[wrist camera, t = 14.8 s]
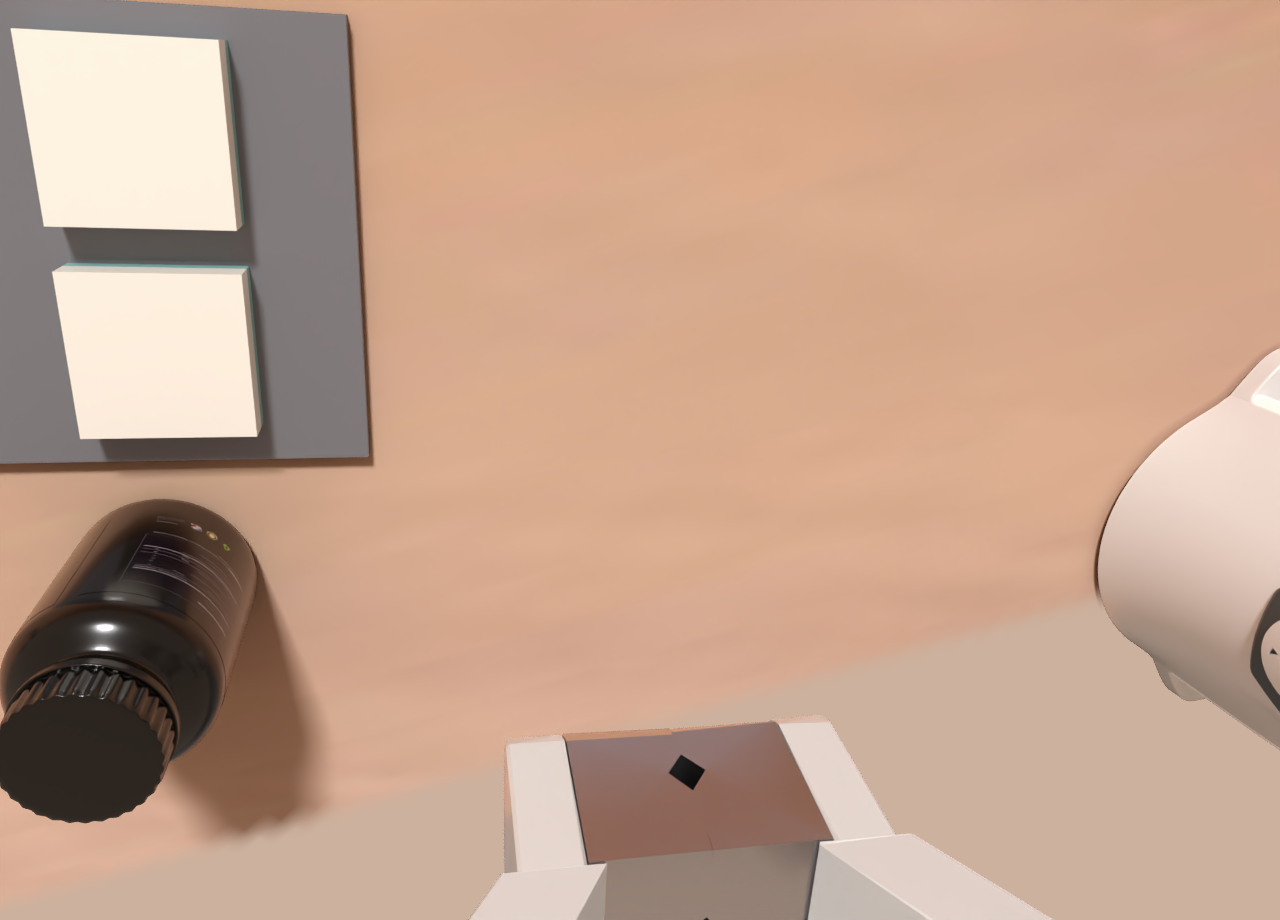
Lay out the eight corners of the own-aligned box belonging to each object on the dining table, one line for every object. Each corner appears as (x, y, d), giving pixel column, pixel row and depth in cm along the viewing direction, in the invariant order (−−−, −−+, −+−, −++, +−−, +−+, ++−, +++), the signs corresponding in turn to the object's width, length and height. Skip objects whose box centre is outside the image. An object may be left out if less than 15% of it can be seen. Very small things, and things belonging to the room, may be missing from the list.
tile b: (218, 40, 32) (10, 27, 31) (236, 230, 34) (43, 226, 33) (227, 39, 33) (28, 29, 32) (244, 223, 35) (59, 218, 34)
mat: (347, 15, 34) (345, 14, 33) (369, 451, 40) (368, 457, 39) (-188, -19, 31) (-199, -20, 30) (-77, 458, 37) (-85, 465, 36)
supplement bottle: (196, 669, 42) (111, 887, 31) (44, 583, 40) (-106, 787, 29) (297, 555, 41) (245, 740, 30) (147, 458, 39) (31, 623, 28)
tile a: (241, 274, 35) (52, 271, 33) (257, 436, 37) (80, 439, 36) (249, 265, 36) (67, 262, 35) (263, 422, 38) (93, 424, 37)
